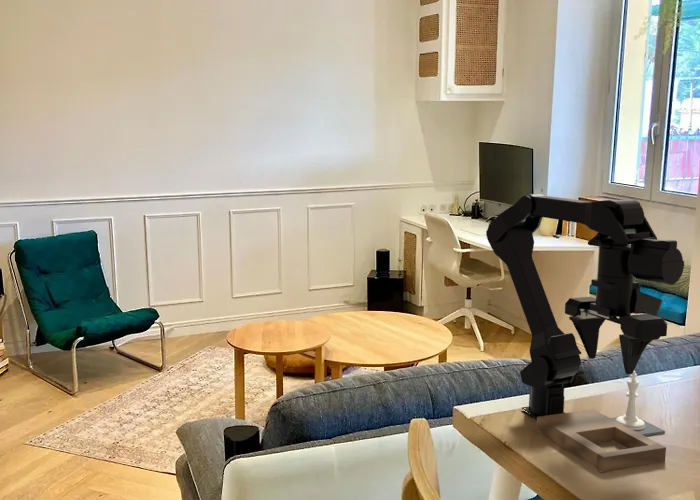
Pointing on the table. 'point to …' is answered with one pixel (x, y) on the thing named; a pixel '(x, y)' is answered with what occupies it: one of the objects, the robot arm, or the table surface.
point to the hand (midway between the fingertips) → (609, 366)
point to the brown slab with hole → (600, 440)
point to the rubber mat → (647, 429)
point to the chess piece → (631, 407)
